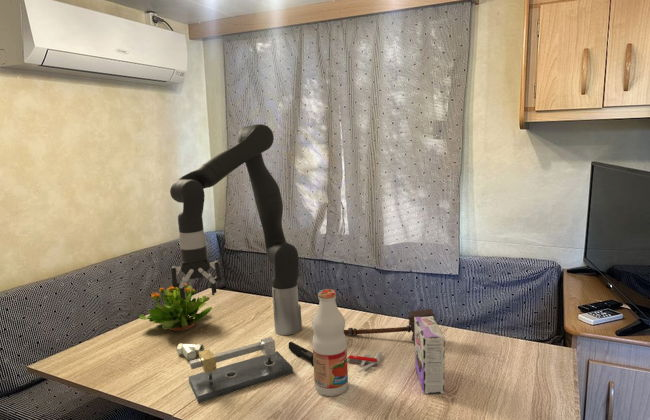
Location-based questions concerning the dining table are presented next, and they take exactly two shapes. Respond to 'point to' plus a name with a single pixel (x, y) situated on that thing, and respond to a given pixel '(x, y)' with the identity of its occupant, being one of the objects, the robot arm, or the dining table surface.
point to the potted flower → (177, 309)
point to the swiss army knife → (364, 360)
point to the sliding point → (208, 362)
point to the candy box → (429, 354)
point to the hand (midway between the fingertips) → (199, 296)
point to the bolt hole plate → (239, 376)
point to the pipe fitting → (190, 350)
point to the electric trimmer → (301, 352)
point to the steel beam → (242, 352)
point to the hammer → (400, 329)
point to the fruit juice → (329, 346)
